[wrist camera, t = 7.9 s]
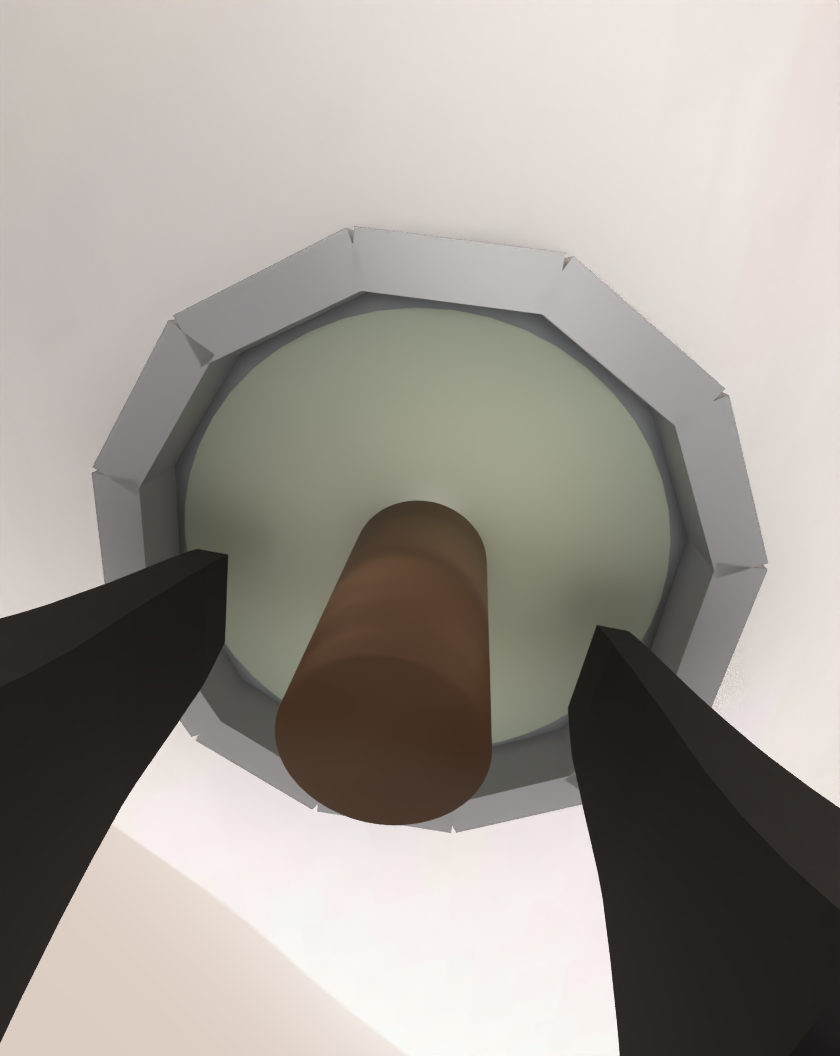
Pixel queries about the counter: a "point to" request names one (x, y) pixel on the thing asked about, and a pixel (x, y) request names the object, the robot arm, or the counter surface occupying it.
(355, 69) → the counter surface
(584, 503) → the round tray
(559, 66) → the counter surface
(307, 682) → the walnut cylinder
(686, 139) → the counter surface
